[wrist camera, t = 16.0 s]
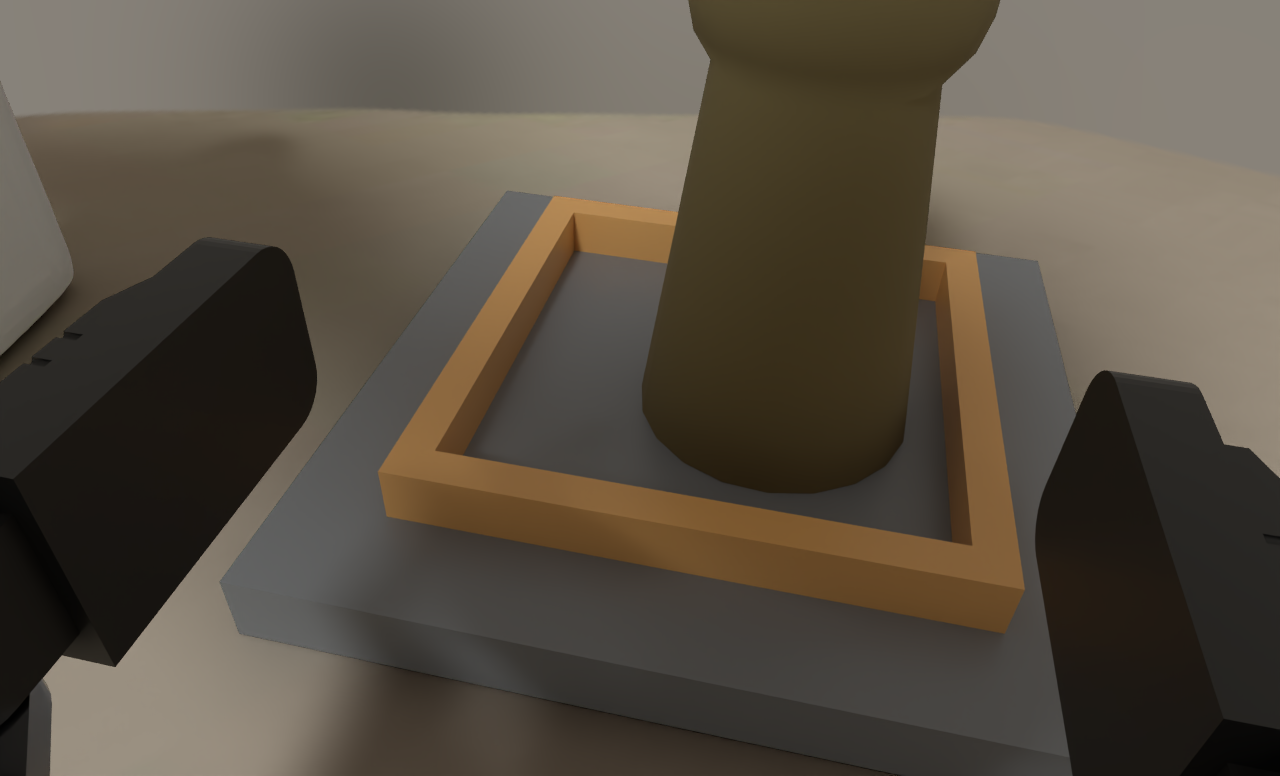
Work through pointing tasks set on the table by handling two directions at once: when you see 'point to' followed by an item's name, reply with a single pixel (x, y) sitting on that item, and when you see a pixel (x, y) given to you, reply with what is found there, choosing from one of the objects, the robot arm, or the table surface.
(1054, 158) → the table surface
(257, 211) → the table surface
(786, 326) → the cork
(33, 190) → the photo printer
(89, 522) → the robot arm
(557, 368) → the socket plate
